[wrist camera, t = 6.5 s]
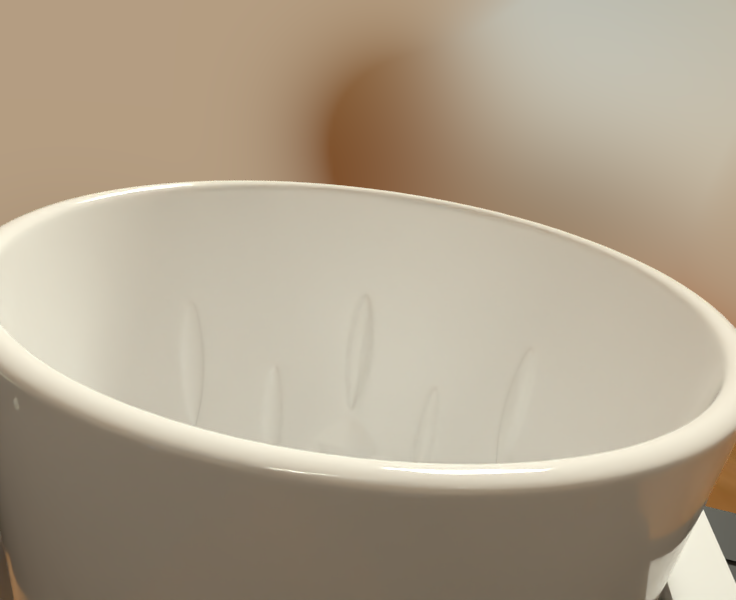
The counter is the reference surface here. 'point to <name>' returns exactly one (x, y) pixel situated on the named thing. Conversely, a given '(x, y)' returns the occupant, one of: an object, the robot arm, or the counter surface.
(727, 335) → the white cup
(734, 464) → the counter surface
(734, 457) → the counter surface
